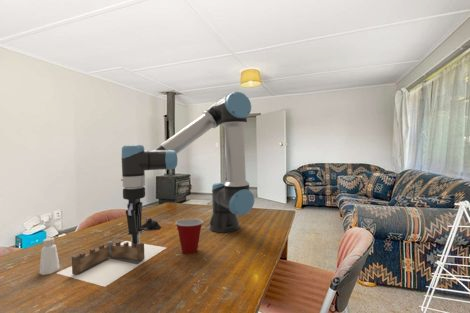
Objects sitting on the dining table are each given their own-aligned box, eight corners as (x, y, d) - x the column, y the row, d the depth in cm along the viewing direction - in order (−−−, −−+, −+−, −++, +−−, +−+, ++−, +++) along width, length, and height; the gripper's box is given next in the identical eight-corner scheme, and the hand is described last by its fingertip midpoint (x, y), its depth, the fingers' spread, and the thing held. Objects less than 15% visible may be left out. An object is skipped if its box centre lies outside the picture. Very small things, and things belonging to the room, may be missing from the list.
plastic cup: (208, 246, 93) (207, 217, 93) (195, 258, 83) (194, 226, 83) (185, 243, 97) (184, 215, 96) (170, 254, 86) (169, 223, 86)
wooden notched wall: (106, 256, 84) (105, 241, 84) (110, 254, 86) (110, 239, 86) (141, 261, 80) (140, 245, 80) (144, 258, 82) (144, 243, 82)
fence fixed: (75, 274, 72) (74, 257, 72) (72, 274, 73) (71, 256, 73) (108, 257, 83) (108, 242, 83) (105, 257, 84) (105, 242, 84)
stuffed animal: (162, 222, 124) (159, 214, 114) (161, 240, 119) (158, 234, 109) (140, 223, 122) (135, 215, 112) (137, 242, 117) (132, 236, 107)
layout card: (166, 248, 92) (166, 247, 92) (104, 288, 66) (104, 286, 66) (125, 241, 100) (125, 240, 100) (56, 274, 74) (56, 272, 74)
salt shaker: (64, 267, 79) (62, 235, 78) (52, 275, 73) (50, 241, 73) (48, 267, 78) (46, 236, 78) (34, 276, 73) (33, 242, 73)
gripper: (128, 184, 89) (130, 244, 90) (116, 190, 76) (119, 259, 77) (148, 184, 90) (150, 242, 91) (140, 189, 77) (142, 257, 78)
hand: (136, 250), depth 84 cm, fingers closed
